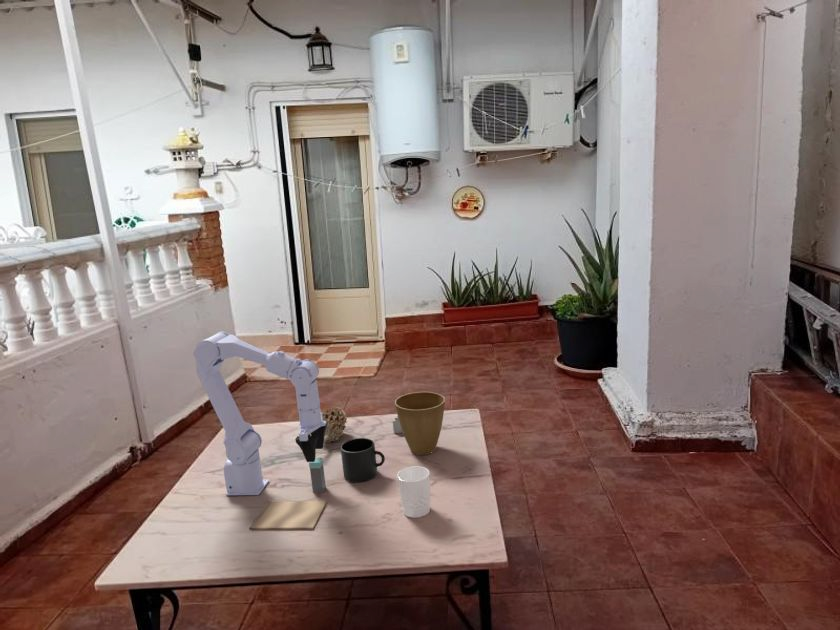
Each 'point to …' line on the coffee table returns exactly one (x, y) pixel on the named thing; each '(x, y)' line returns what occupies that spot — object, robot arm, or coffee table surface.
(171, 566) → the coffee table surface
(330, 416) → the pine cone
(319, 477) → the teal block
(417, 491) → the white cup
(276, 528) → the tan rectangular board
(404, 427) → the plant pot
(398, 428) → the lighter
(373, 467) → the mug
